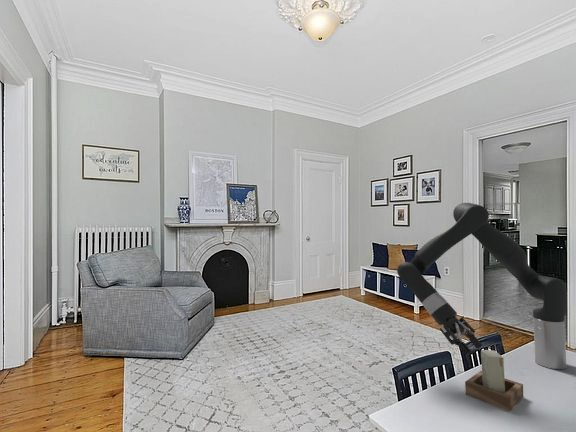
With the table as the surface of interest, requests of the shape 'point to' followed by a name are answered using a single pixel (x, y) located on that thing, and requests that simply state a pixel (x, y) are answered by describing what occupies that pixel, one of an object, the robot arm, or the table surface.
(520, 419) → the table surface
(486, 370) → the skincare box
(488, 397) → the block
